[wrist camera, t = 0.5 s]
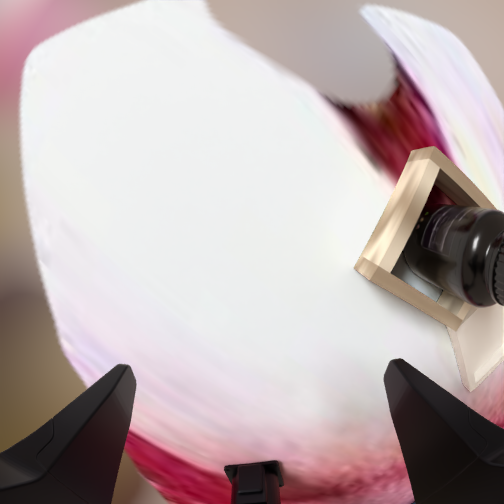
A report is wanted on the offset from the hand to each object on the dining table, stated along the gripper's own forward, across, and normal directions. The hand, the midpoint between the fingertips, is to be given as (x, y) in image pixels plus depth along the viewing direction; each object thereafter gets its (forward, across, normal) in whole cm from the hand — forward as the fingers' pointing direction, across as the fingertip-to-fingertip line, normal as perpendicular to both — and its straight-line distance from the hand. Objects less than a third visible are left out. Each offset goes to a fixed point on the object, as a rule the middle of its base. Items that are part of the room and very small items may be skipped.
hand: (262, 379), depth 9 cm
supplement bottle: (+14, -16, +1) cm, 21 cm away
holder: (+14, -16, +1) cm, 21 cm away
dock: (+12, -28, +10) cm, 32 cm away
